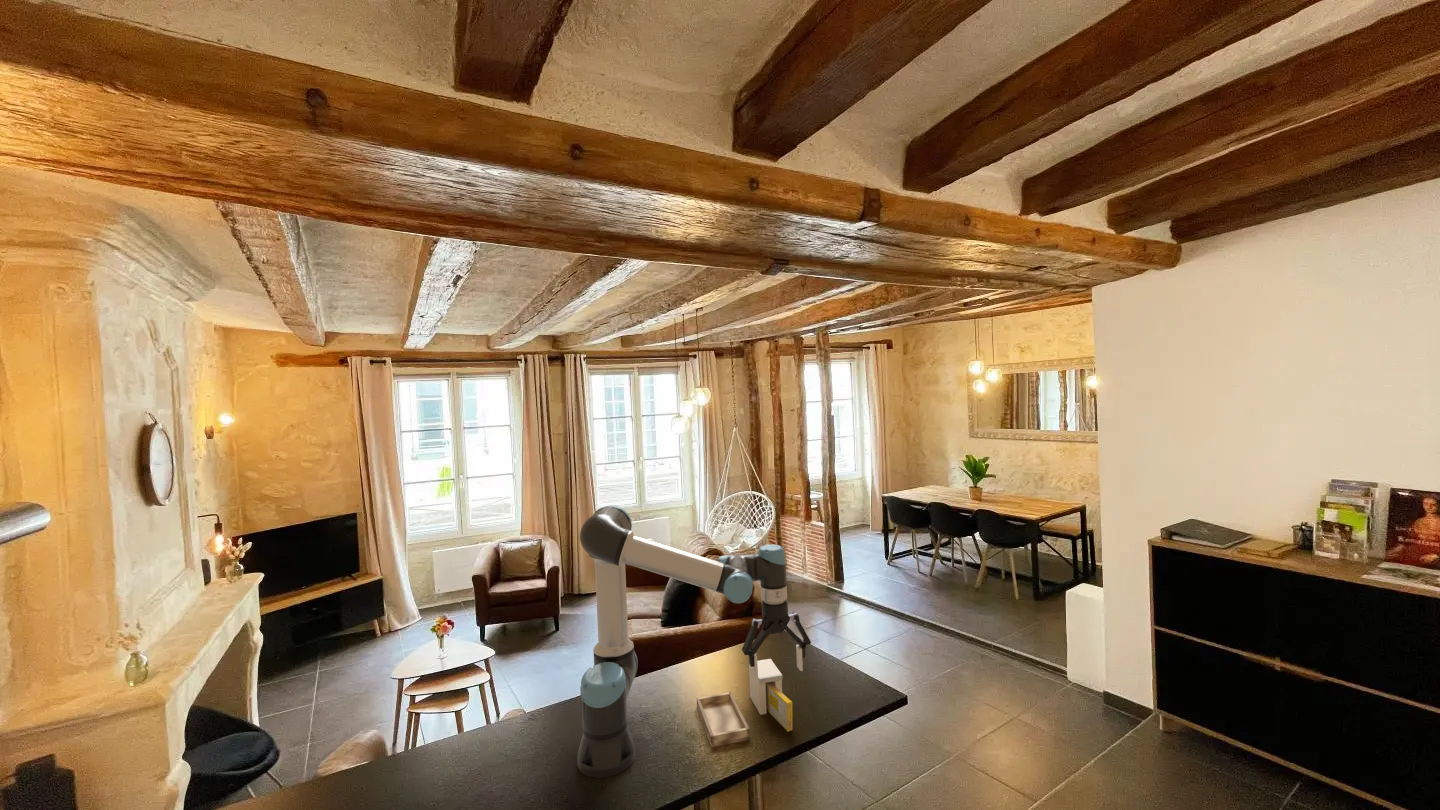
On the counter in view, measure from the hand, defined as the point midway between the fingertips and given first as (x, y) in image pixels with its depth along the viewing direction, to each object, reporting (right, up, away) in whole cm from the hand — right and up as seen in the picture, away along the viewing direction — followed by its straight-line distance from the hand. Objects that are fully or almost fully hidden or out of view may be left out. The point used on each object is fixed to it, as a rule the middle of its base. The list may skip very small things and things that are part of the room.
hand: (778, 672), depth 161 cm
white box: (-2, -15, +11) cm, 19 cm away
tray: (-16, -16, +2) cm, 23 cm away
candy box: (0, -16, +5) cm, 16 cm away
